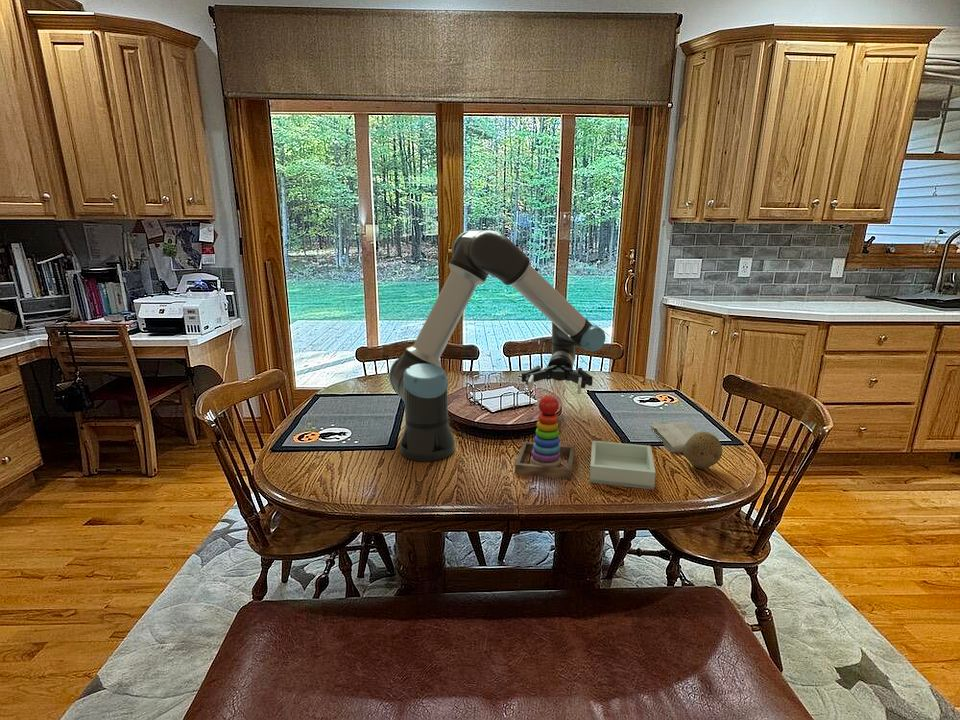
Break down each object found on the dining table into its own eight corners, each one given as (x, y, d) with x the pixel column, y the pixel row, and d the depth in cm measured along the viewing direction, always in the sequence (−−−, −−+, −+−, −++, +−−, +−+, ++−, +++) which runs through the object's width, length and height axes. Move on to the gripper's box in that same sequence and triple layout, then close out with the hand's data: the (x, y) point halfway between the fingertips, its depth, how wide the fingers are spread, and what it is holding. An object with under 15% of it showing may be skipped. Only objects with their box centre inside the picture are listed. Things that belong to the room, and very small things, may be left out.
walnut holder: (514, 473, 129) (515, 464, 129) (523, 449, 142) (523, 441, 142) (570, 479, 126) (571, 470, 126) (574, 454, 139) (574, 446, 139)
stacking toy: (560, 472, 130) (563, 403, 125) (528, 469, 131) (530, 400, 126) (561, 458, 137) (564, 392, 132) (532, 455, 139) (533, 390, 134)
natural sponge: (720, 480, 126) (726, 443, 123) (682, 474, 129) (686, 437, 126) (718, 464, 134) (723, 428, 131) (681, 458, 137) (685, 424, 134)
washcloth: (685, 428, 158) (686, 418, 157) (713, 454, 141) (715, 443, 140) (647, 429, 157) (648, 419, 156) (671, 455, 140) (672, 445, 139)
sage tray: (589, 482, 125) (590, 465, 124) (591, 455, 139) (592, 440, 138) (653, 489, 121) (655, 472, 120) (649, 461, 135) (650, 445, 134)
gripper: (600, 379, 158) (599, 403, 138) (520, 375, 164) (509, 398, 144) (602, 356, 156) (601, 377, 136) (521, 352, 162) (508, 372, 142)
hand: (553, 388), depth 140 cm, fingers open, 13 cm apart
